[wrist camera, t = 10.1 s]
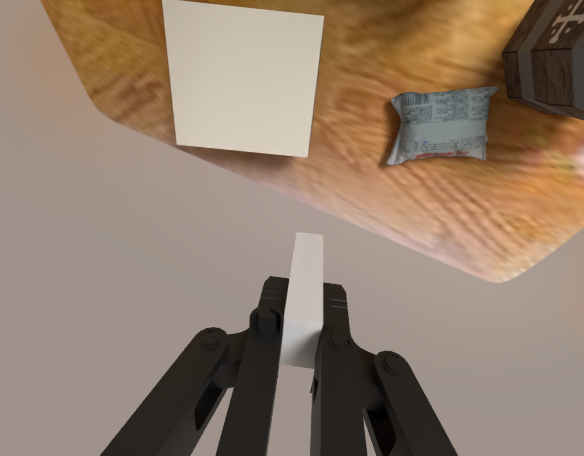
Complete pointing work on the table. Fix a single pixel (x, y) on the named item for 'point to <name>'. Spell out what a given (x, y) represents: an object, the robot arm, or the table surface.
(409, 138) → the packaged food
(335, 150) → the table surface
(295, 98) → the lid
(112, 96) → the table surface
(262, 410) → the robot arm
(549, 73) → the mug
